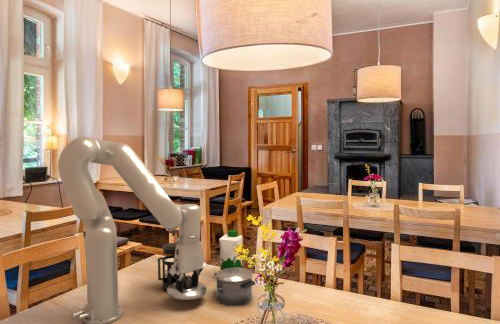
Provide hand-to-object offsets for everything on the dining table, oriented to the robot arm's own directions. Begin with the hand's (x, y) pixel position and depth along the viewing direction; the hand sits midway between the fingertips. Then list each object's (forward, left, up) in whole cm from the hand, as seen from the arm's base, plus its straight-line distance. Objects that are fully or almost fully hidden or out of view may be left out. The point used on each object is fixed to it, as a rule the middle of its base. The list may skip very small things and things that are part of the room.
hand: (187, 287), depth 129 cm
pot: (+14, -10, -5) cm, 18 cm away
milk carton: (+25, +4, -6) cm, 26 cm away
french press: (+3, +14, -6) cm, 16 cm away
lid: (0, 0, -1) cm, 1 cm away
